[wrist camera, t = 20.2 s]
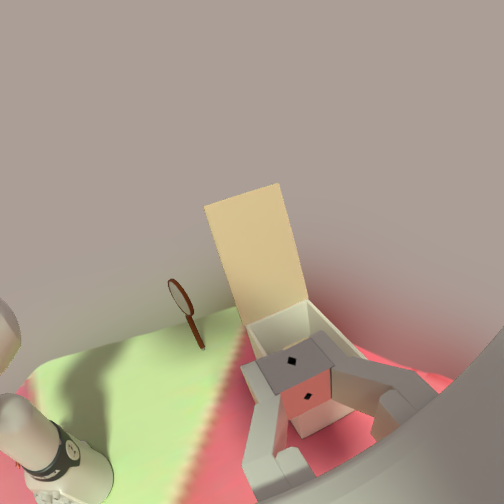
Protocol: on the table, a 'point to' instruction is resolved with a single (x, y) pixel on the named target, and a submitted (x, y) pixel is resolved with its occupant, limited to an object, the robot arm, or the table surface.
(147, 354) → the table surface
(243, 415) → the table surface
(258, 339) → the carton
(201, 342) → the magnifying glass
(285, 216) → the lid flap
